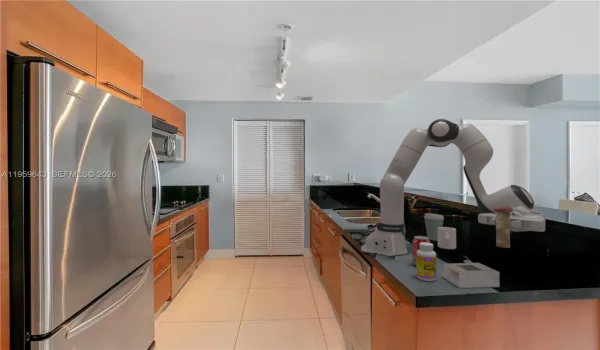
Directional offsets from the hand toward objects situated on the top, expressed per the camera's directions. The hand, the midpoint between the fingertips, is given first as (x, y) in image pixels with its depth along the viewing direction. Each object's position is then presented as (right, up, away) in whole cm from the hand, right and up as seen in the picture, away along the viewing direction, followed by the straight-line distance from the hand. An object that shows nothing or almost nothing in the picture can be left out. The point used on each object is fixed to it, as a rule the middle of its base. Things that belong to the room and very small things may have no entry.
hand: (501, 223), depth 99 cm
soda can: (-22, -21, +17) cm, 34 cm away
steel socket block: (-12, -21, -1) cm, 24 cm away
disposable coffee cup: (+6, -21, +63) cm, 67 cm away
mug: (+4, -21, +44) cm, 49 cm away
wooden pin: (+1, -8, +1) cm, 8 cm away
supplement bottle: (-26, -21, +2) cm, 34 cm away
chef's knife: (0, -21, +20) cm, 29 cm away
